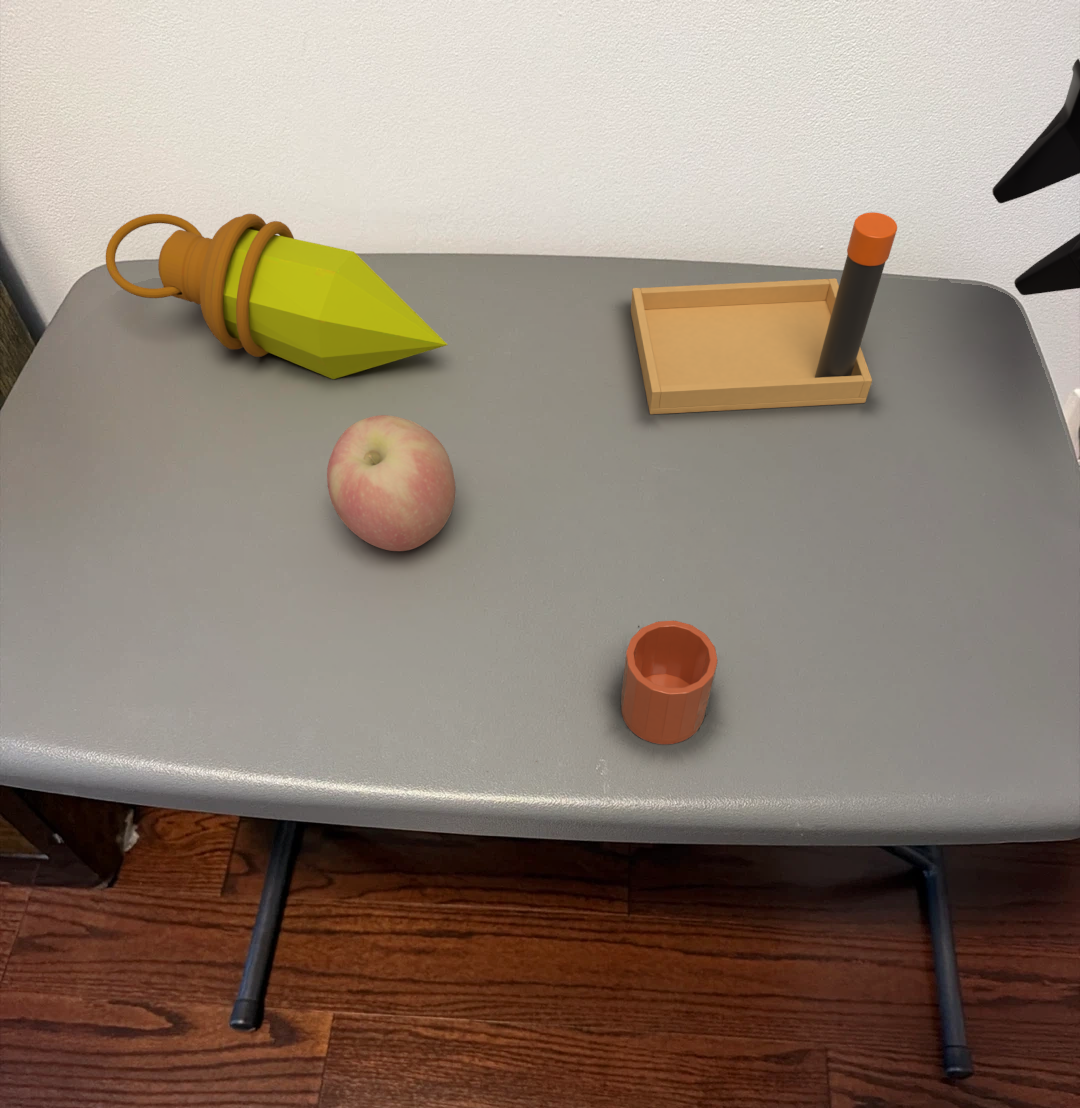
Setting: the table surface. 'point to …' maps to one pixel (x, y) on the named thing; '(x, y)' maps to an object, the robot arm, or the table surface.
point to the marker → (856, 293)
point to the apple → (391, 482)
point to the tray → (739, 346)
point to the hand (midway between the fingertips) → (1005, 241)
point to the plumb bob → (283, 295)
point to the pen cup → (667, 681)
